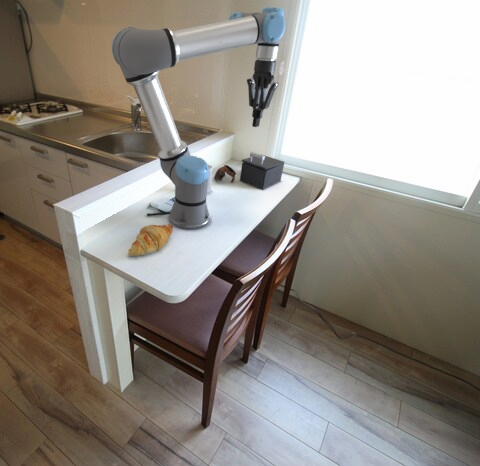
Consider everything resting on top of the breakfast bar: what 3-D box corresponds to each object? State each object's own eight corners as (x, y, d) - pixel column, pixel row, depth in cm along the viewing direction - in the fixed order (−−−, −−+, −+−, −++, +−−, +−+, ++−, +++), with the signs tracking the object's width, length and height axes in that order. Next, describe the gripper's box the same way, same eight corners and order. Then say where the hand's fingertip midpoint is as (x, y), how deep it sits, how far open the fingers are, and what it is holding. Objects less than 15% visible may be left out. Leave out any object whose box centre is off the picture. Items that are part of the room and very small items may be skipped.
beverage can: (197, 187, 149) (199, 163, 142) (211, 189, 148) (213, 164, 142) (195, 193, 144) (197, 168, 137) (210, 195, 143) (212, 169, 136)
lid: (265, 169, 144) (267, 158, 142) (241, 161, 152) (243, 150, 150) (284, 163, 155) (286, 152, 152) (260, 155, 163) (262, 145, 160)
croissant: (136, 270, 102) (144, 257, 96) (115, 248, 103) (122, 234, 98) (177, 240, 116) (185, 227, 111) (157, 221, 118) (165, 207, 112)
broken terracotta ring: (216, 175, 164) (226, 162, 160) (230, 187, 162) (240, 174, 158) (207, 177, 153) (217, 163, 149) (221, 190, 152) (232, 176, 148)
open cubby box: (262, 189, 150) (266, 171, 145) (239, 180, 158) (242, 162, 153) (280, 181, 160) (284, 163, 155) (257, 173, 168) (260, 155, 163)
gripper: (287, 61, 115) (274, 128, 127) (256, 57, 122) (247, 121, 135) (275, 61, 110) (264, 131, 123) (245, 58, 117) (236, 124, 130)
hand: (255, 126), depth 129 cm, fingers closed
